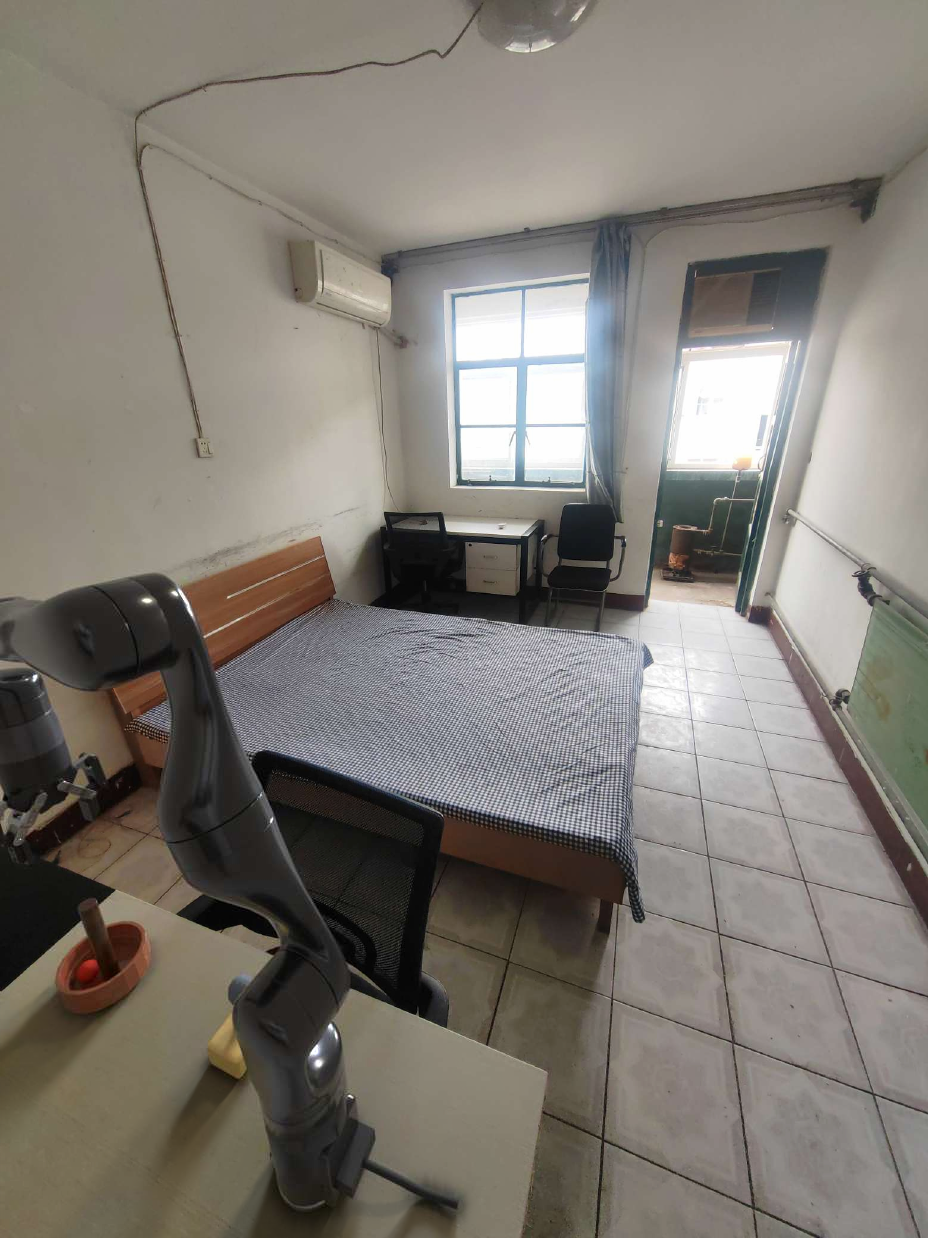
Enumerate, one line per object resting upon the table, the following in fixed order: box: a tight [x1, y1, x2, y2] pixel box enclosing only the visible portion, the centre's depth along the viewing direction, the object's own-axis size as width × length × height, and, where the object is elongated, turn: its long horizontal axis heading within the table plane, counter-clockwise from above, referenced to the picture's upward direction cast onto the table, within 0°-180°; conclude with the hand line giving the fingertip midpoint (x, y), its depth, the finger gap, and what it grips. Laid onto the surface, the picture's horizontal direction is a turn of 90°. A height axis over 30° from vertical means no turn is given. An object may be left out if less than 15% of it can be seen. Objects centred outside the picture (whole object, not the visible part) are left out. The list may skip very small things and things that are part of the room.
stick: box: [77, 897, 120, 982], centre depth 76 cm, size 2×2×16 cm
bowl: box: [54, 920, 152, 1015], centre depth 78 cm, size 12×12×5 cm
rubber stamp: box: [206, 973, 254, 1080], centre depth 69 cm, size 10×6×12 cm, turn 160°
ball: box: [77, 960, 99, 982], centre depth 77 cm, size 3×3×3 cm
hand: (61, 839), depth 68 cm, fingers open, 8 cm apart
